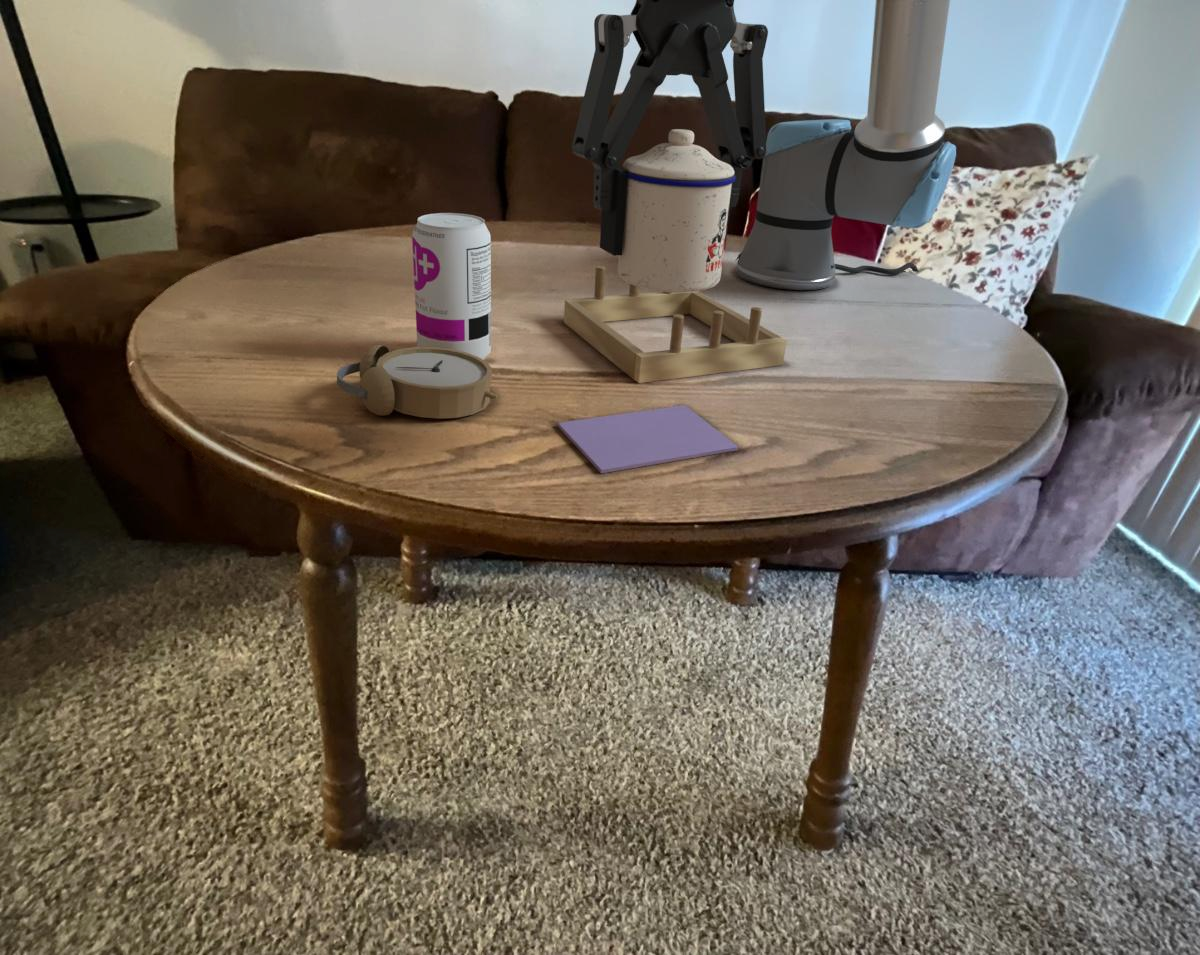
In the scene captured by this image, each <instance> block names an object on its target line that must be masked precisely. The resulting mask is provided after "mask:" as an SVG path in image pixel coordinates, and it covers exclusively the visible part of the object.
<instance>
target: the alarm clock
mask: <svg viewBox="0 0 1200 955" xmlns="http://www.w3.org/2000/svg"><path fill="white" fill-rule="evenodd" d="M355 373H359V378H360V381H359V385H356V384H353V383H350V382H348V381H347V380H345V379H343V378H344V377H347V376H349V375H352V374H355ZM492 378H493V368H492V366H491V365H490V364H489V363H488V361H486V360H485V359H484V360H482V359H481V358H479V357H477V356H474V355H472V354H469V353H466V352H462V351H458V350H453V349H448V348H437V347H417V346H413V347H412V346H411V347H406V348H405V347H404V348H398V349H395V350H392V351H390V349H389V348H388V347H387V346H386V345H383V344H378V345H374V346H371V347H369V348H367V350H366V351H365V352H364V353H363V354H362V357H361V358H360V361H358V362H353V363H350V364H346V365H343V366H341V367H340V368H339V369H338V370H337V373H336V384H337V387H338V388H339V390H341V391H343V392H345V393H347V394H351V395H352V396H353V395H354V396H356V397H359V398H361V401H362V403H363V405H364V407H366V409H367V411H369V412H370V413H372V414H374V415H376V416H381V417H382V416H390V415H391V414H392V413H393V411H396V412H399V413H401V414H405V415H410V416H414V417H419V418H428V419H439V420H440V419H458V418H462V417H463V418H464V417H467V416H472V415H475V414H477V413H479V412H481V411H483V410H485V409H486V408H487V407H488V406H489V405H490V402H491V399H492V400H497V399H498V394H496V393H494V392H492V391H491V384H492V383H491V382H492Z"/></svg>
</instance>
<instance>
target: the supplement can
mask: <svg viewBox="0 0 1200 955" xmlns="http://www.w3.org/2000/svg"><path fill="white" fill-rule="evenodd" d="M485 222H486V220H485V219H484V218H482V217H481V216H477V215H474V214H467V213H457V212H439V213H429V214H424V215H421V216H418V217H417V223H416V224H415V226H414V229H413V231H412V234H411V241H412V244H411V245H412V262H413V264H412V265H413V282H414V283H413V284H414V303H415V305H414V307H415V325H416V347H437V348H448V349H453V350H458V351H462V352H466V353H469V354H472V355H474V356H477V357H479V358H481V359H482V360H484V361H485V359H486V358H487V357H488V355H489V354H490V353H492V269H491V268H492V262H491V261H492V256H491V255H492V254H491V252H492V250H491V248H492V244H491V242H492V241H491V240H492V239H491V238H492V237H491V233H490V231H489V229H488V227H487V225H486V223H485Z"/></svg>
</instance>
